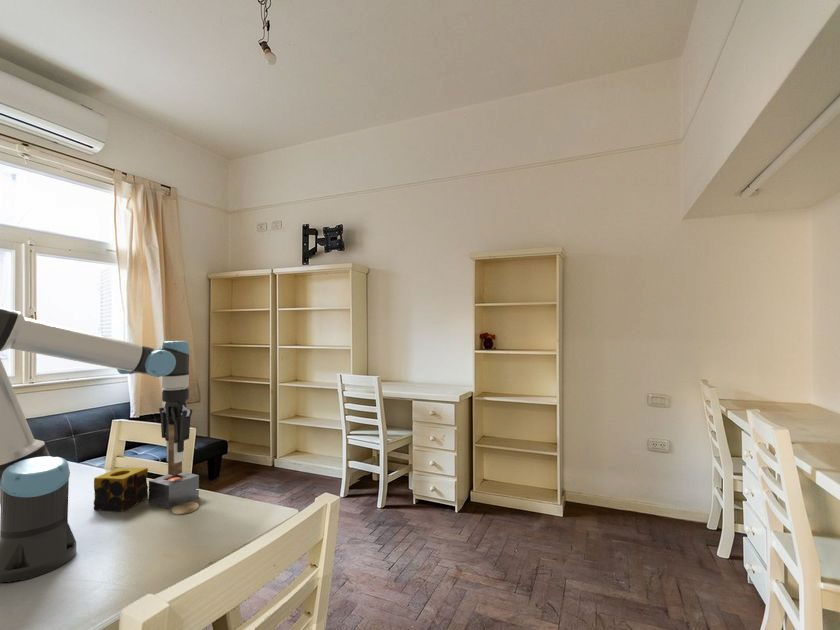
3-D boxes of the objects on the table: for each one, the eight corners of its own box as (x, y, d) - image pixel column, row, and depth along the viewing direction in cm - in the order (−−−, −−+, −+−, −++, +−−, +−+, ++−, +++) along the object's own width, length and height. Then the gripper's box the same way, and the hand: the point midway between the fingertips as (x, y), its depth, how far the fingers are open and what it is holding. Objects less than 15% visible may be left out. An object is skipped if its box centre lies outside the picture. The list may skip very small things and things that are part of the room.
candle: (148, 498, 133) (149, 467, 133) (123, 512, 123) (124, 478, 123) (120, 497, 134) (120, 466, 134) (92, 510, 124) (93, 477, 124)
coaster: (181, 516, 120) (181, 514, 120) (166, 511, 123) (166, 509, 123) (203, 506, 126) (203, 505, 126) (188, 502, 129) (188, 500, 129)
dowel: (173, 475, 130) (174, 425, 130) (168, 474, 131) (168, 424, 132) (182, 472, 132) (182, 423, 133) (176, 471, 134) (176, 422, 134)
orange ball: (172, 495, 129) (172, 482, 129) (164, 493, 130) (164, 480, 131) (183, 490, 132) (183, 478, 132) (176, 488, 134) (176, 476, 134)
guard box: (168, 508, 125) (168, 485, 125) (148, 503, 129) (148, 480, 129) (198, 496, 134) (198, 475, 134) (178, 491, 138) (179, 470, 138)
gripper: (202, 388, 132) (202, 461, 132) (171, 385, 139) (170, 454, 139) (180, 391, 126) (179, 468, 125) (148, 388, 132) (148, 461, 132)
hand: (175, 461), depth 132 cm, fingers closed on dowel, 3 cm apart
